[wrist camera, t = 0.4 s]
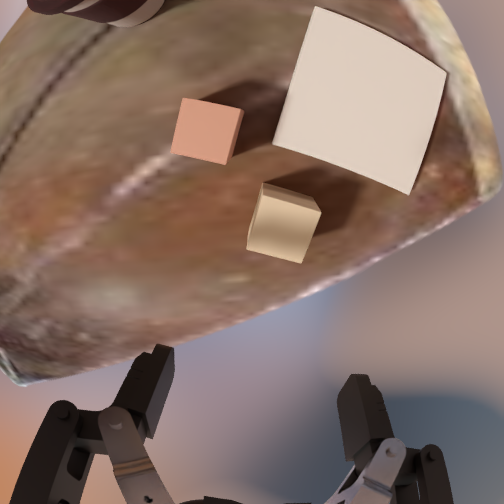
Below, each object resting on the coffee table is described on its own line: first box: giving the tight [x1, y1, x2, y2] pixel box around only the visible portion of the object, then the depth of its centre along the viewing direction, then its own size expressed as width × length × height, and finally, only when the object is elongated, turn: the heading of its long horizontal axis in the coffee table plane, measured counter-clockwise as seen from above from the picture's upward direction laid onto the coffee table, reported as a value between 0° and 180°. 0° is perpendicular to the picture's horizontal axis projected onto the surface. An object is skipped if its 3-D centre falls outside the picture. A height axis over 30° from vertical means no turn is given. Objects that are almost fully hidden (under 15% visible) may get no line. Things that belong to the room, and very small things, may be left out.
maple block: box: [247, 182, 321, 263], centre depth 27 cm, size 6×6×5 cm
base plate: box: [272, 6, 447, 195], centre depth 22 cm, size 16×16×1 cm
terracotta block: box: [171, 98, 244, 165], centre depth 23 cm, size 5×5×5 cm
